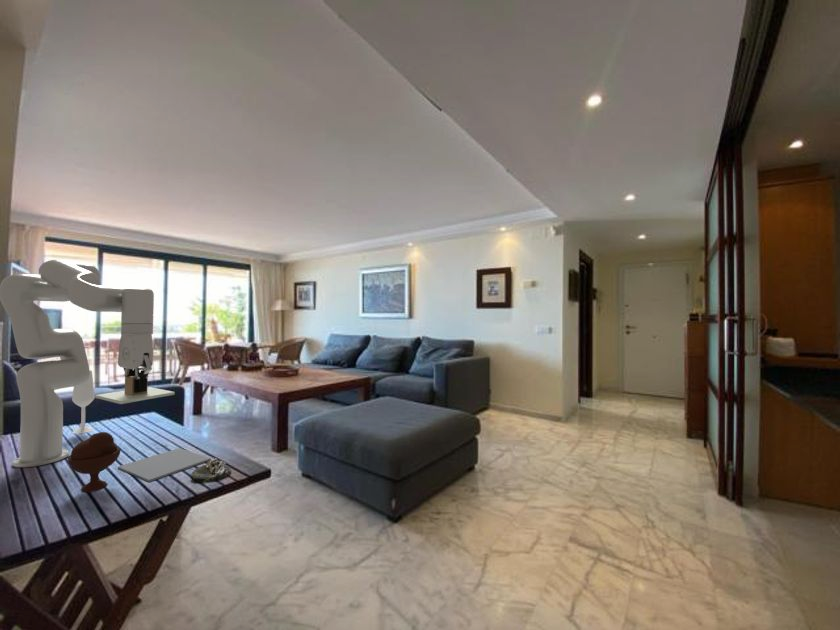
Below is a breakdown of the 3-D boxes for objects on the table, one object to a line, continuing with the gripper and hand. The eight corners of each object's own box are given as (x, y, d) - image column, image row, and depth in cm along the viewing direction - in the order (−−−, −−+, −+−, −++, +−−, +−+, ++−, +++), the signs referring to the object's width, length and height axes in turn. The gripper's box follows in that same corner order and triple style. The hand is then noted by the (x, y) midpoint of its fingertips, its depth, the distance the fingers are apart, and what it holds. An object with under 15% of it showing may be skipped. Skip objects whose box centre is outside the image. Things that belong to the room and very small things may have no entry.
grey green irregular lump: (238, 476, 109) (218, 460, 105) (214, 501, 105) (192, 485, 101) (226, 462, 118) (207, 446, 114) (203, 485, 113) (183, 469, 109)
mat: (117, 468, 112) (117, 466, 112) (179, 449, 128) (179, 448, 128) (148, 482, 104) (149, 479, 104) (210, 460, 120) (210, 458, 120)
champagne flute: (66, 433, 143) (67, 372, 143) (82, 428, 149) (83, 369, 149) (83, 433, 143) (84, 372, 143) (98, 428, 149) (99, 369, 149)
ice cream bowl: (114, 475, 108) (114, 424, 108) (123, 486, 101) (124, 432, 101) (64, 487, 99) (65, 433, 99) (71, 501, 92) (71, 442, 92)
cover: (95, 397, 105) (95, 377, 105) (148, 389, 118) (149, 371, 118) (120, 404, 99) (121, 382, 99) (174, 394, 112) (175, 375, 112)
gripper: (107, 328, 109) (106, 390, 109) (138, 331, 101) (137, 397, 101) (136, 328, 115) (134, 385, 115) (167, 330, 108) (165, 392, 108)
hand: (135, 390), depth 108 cm, fingers closed on cover, 4 cm apart
